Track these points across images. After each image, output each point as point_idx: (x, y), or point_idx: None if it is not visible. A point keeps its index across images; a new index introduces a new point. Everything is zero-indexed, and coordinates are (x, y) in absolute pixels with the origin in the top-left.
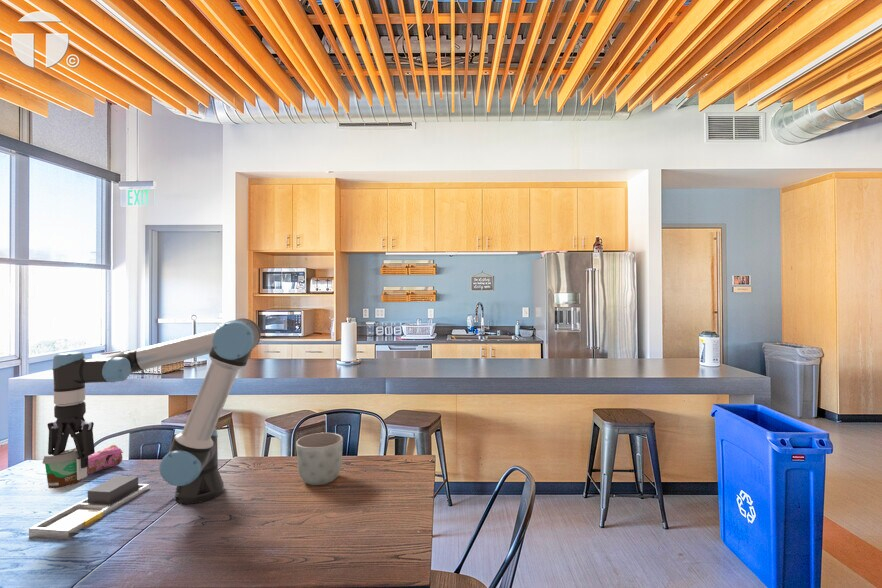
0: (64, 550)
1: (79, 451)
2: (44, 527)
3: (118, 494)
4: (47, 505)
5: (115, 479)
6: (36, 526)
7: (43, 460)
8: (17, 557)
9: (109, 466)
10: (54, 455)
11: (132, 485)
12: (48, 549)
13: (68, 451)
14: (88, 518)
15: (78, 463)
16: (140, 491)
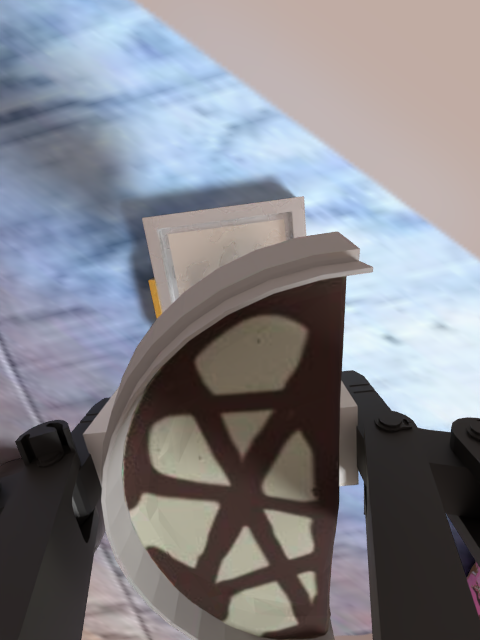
0: (92, 162)
1: (27, 509)
2: (253, 216)
3: None
4: (442, 367)
5: None
6: (292, 216)
7: (341, 240)
8: (198, 84)
9: (467, 577)
10: (391, 419)
11: None
12: (149, 153)
13: (278, 509)
14: (163, 301)
15: (107, 404)
16: None
